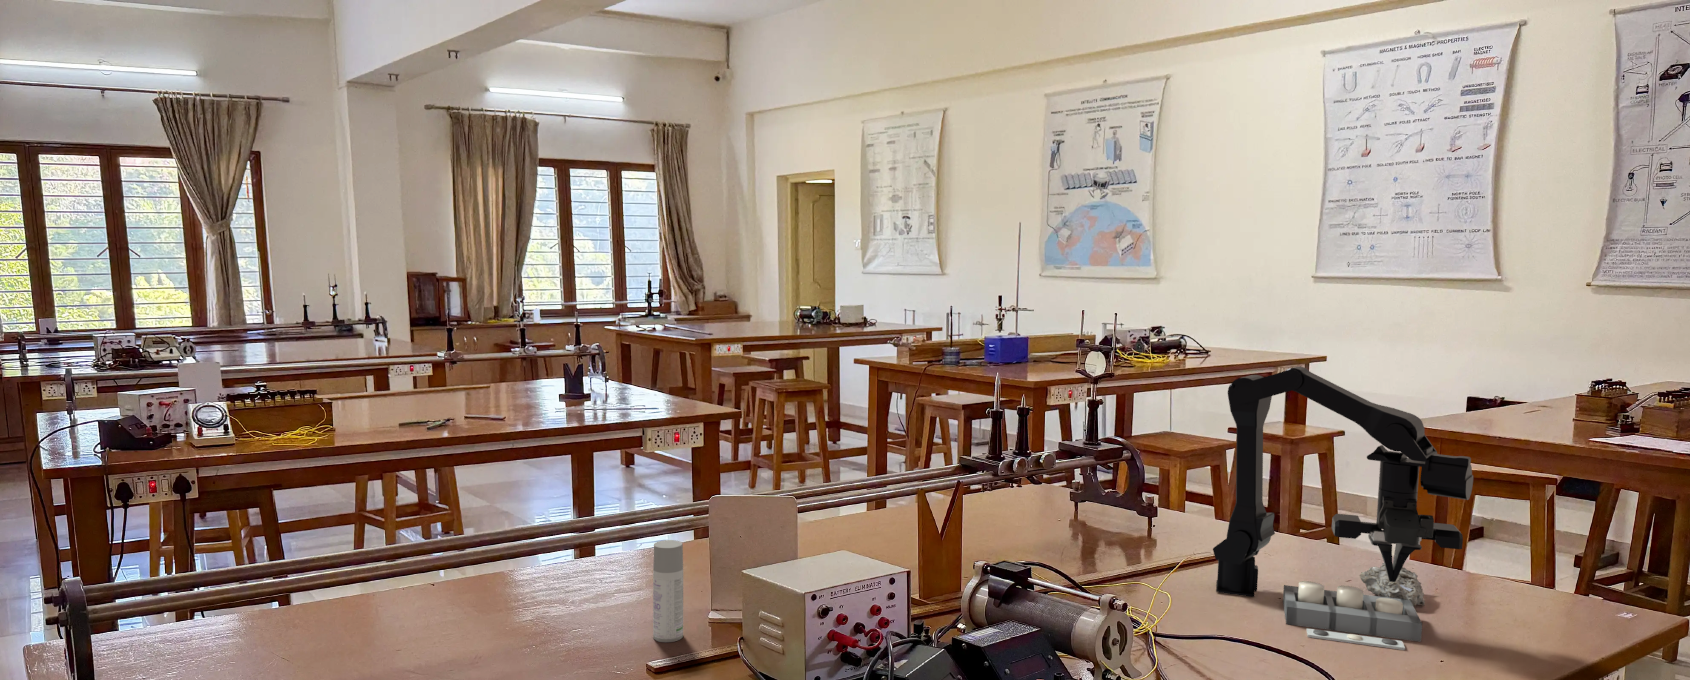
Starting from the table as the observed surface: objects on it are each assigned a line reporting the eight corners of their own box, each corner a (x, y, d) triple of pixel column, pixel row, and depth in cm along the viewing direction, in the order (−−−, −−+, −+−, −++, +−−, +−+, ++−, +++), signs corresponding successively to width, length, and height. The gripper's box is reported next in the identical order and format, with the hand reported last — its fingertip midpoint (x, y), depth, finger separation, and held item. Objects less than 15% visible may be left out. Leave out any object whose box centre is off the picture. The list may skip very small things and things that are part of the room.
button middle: (1337, 612, 174) (1338, 591, 173) (1334, 604, 177) (1336, 584, 177) (1363, 615, 172) (1364, 594, 172) (1360, 607, 176) (1361, 587, 176)
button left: (1298, 607, 176) (1299, 586, 176) (1296, 600, 180) (1298, 579, 179) (1324, 610, 174) (1325, 589, 174) (1322, 603, 178) (1323, 582, 178)
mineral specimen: (1418, 595, 191) (1438, 612, 179) (1354, 591, 194) (1370, 607, 182) (1418, 563, 191) (1438, 578, 179) (1354, 559, 194) (1370, 574, 182)
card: (1307, 636, 167) (1308, 633, 167) (1306, 630, 170) (1306, 627, 170) (1404, 650, 162) (1405, 646, 162) (1401, 643, 165) (1402, 639, 165)
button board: (1286, 623, 173) (1287, 606, 173) (1282, 601, 184) (1283, 584, 184) (1420, 641, 166) (1422, 623, 166) (1408, 617, 177) (1410, 600, 177)
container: (647, 639, 161) (647, 546, 160) (662, 629, 166) (662, 538, 164) (673, 644, 160) (673, 549, 158) (688, 633, 164) (688, 541, 163)
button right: (1376, 625, 172) (1377, 604, 171) (1373, 617, 176) (1374, 596, 175) (1403, 628, 170) (1404, 607, 170) (1399, 620, 174) (1401, 599, 174)
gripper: (1340, 494, 166) (1335, 588, 168) (1473, 506, 160) (1466, 604, 161) (1334, 480, 177) (1328, 569, 178) (1458, 490, 170) (1452, 582, 172)
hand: (1392, 581), depth 172 cm, fingers closed
